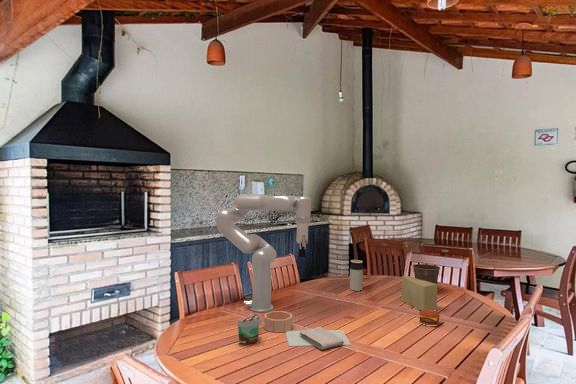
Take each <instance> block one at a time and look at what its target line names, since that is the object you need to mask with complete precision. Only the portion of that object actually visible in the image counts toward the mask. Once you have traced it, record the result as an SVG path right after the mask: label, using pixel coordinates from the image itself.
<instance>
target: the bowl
mask: <svg viewBox="0 0 576 384" xmlns="http://www.w3.org/2000/svg"><path fill="white" fill-rule="evenodd" d="M263 318H264V320H263V321H264V322H263V323H264V324H263V329H264V330H265V331H266V332H270V333H274V334H278V333H279V334H281V333H283V334H284V333H286V331H292V329H293V314H292V313H291V312H289V311H288V312H287V311H284V310H271V311H268V312H264V317H263Z"/></svg>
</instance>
